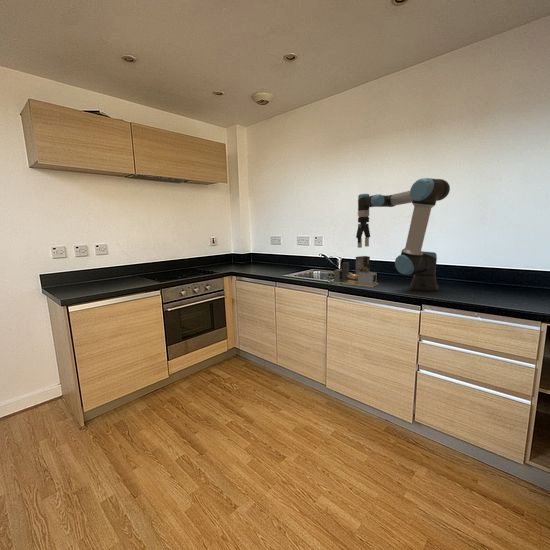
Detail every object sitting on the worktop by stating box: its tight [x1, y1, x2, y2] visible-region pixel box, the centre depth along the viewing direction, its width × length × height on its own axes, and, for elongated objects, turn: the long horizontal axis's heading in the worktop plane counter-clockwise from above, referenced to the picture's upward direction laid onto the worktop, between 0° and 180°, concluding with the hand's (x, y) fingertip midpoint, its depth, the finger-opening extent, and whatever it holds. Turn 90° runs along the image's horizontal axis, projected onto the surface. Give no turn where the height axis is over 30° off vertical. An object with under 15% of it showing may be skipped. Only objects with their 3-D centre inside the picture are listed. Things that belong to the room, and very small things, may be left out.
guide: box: [331, 271, 380, 288], centre depth 199 cm, size 30×10×8 cm, turn 50°
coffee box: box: [354, 255, 371, 274], centre depth 222 cm, size 9×6×16 cm
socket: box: [333, 268, 342, 282], centre depth 206 cm, size 4×8×8 cm, turn 140°
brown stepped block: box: [340, 261, 358, 281], centre depth 200 cm, size 18×4×13 cm, turn 50°
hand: (363, 247), depth 204 cm, fingers open, 13 cm apart
